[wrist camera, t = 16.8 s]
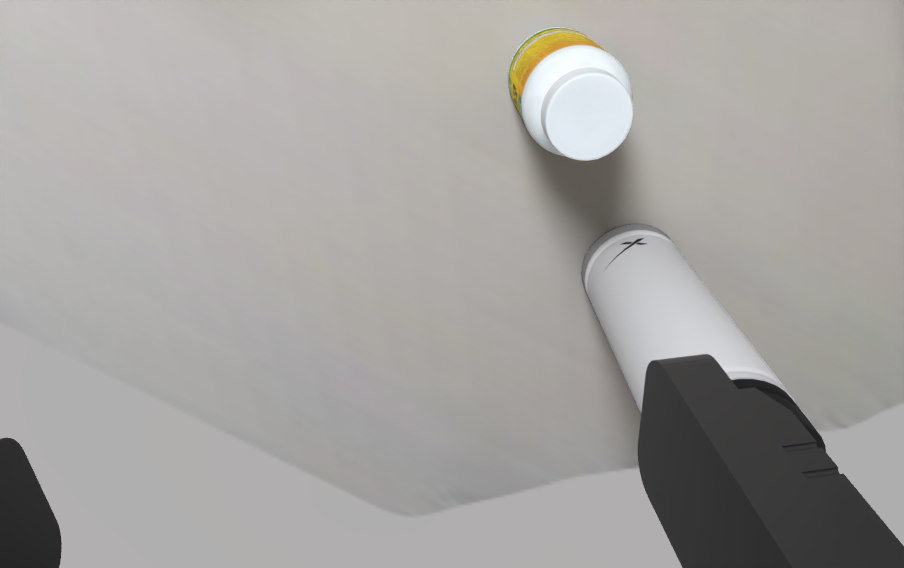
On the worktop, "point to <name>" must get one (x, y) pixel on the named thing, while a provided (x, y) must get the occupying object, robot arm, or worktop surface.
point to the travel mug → (668, 314)
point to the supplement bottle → (571, 94)
